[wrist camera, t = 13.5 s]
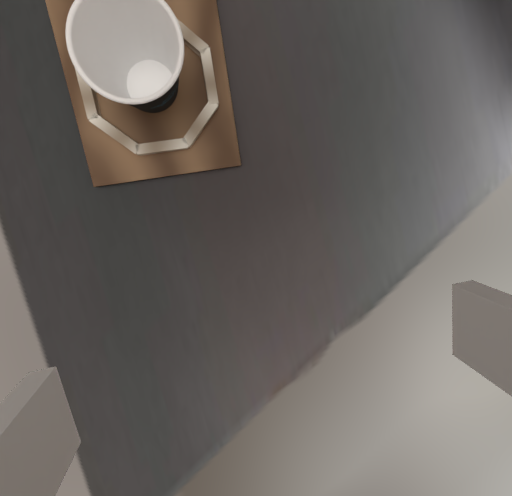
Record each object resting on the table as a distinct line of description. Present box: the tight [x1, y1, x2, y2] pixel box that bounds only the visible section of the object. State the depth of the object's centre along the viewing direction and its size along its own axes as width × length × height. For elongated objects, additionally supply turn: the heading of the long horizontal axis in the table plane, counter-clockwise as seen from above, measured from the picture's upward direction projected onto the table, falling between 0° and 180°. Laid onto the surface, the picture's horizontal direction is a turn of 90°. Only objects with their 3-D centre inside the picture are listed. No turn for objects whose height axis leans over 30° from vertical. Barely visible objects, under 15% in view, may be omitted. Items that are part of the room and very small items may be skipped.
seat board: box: [45, 0, 241, 187], centre depth 33 cm, size 16×18×3 cm
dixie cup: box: [65, 0, 184, 113], centre depth 27 cm, size 8×8×11 cm
